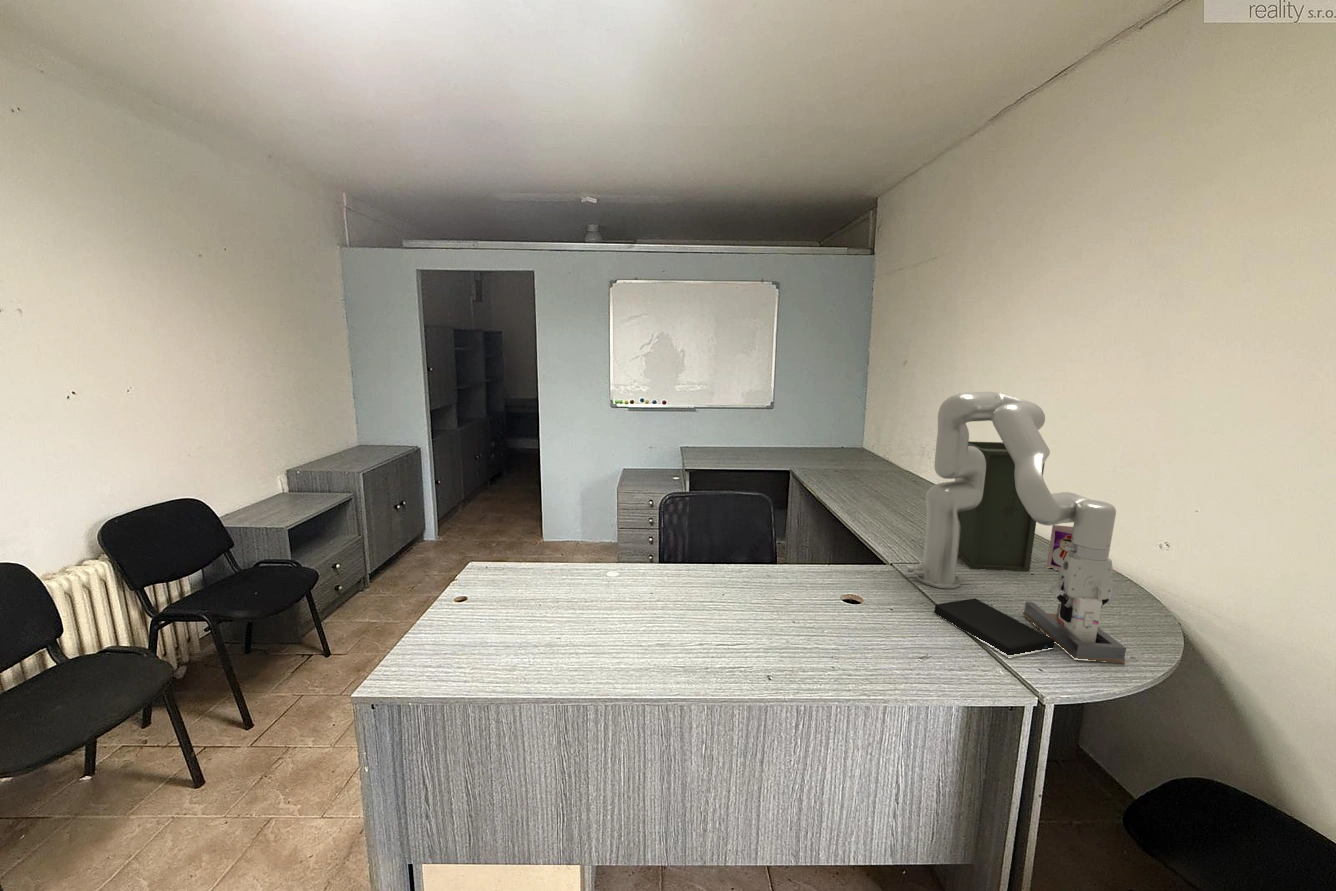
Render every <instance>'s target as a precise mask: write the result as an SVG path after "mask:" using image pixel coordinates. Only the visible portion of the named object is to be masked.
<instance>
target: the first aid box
mask: <svg viewBox="0 0 1336 891" xmlns="http://www.w3.org/2000/svg"><path fill="white" fill-rule="evenodd" d="M968 446H973V447H976V448H978V449H979V450H980V451H981V452H982V453H983V455H984V457H985V460H986V474H985V482H984V491H983V497H982V501H981V503H980V504H979V506H977V507H976V508H974V509H972V510H968V511H962V512H958V518H959V521H960V526H961V532H960V542H959V550H958V559H959V560H960V561H961V562H962V563H963V564H964V565H965V566H967V567H968V569H970V570H979V569H986V570H985V571H1000V570H1012V571H1011V572H1020V571H1029V572H1030V568H1031V563H1032V562H1031V561H1032V555H1033V548H1034V541H1035V534H1036V526H1037V522H1036V521H1035V520H1034V519H1032V517H1031V516H1030V515H1029V514H1028V512H1027V511H1026V509H1025V507H1024V505H1023V504H1022V502H1021V500H1020V498H1019V496H1018V494H1017V491H1016V487H1015V477H1014V471H1015V464H1014V461H1013V460H1012V458H1011V456H1010V454H1009V452H1008V450H1007V449H1006V447H1005V445H1004V443H1003V441H1002V442H998V441H971V440H969V442H968ZM1045 462H1046V461H1045ZM1045 462H1044V464H1043V468H1042V475H1043V476H1044V470H1045Z"/></svg>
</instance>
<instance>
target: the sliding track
mask: <svg viewBox="0 0 1336 891" xmlns="http://www.w3.org/2000/svg"><path fill="white" fill-rule="evenodd" d="M1060 605H1061V603H1058V606H1057V612H1056V613H1052V612H1051V613H1048V612H1046V611H1045V610H1044V609H1042V608H1041V607H1040V606H1039V605H1037V604H1036V603H1035V602H1034V601H1033V602H1032V601H1025V605H1024V611H1023V613H1022V616H1023V615H1024V616H1025V617H1026V618H1027V619H1026V618H1025V617H1024V616H1023V617H1024V618H1025V619H1026V620H1028V619H1029V620H1030V621H1031V622H1032V623H1034V624H1035V625H1036V626H1037V627H1038V628H1039V629H1041V630H1042V631H1043V632H1044V633H1045V634H1047V635H1048V636H1049V637H1050V638H1051V639H1053V640H1055V642H1056V643H1057V644H1059V645H1060V646H1061V647H1062V648H1064V649H1065V650H1066V651H1067V652H1068V653H1069V654H1070V655H1072V656H1073V657H1074V658H1078V659H1088V660H1096V661H1106V662H1115V663H1114V664H1120V663H1126V659H1125V657H1126V651H1127V647H1126V646H1125V645H1123V644H1122V643H1121V642H1119V641H1118V640H1116V639H1114V637H1112V636H1111V635H1109V634H1108V633H1106V632H1105V631H1104V630H1103V629H1102V628H1100V627H1098V629H1097V635H1096V641H1095V643H1085V642H1082V641H1081V640H1080V639H1078V638H1077V637H1076V636H1075V635H1073V634H1072V633H1071V632H1070V631H1068V630H1067V629H1066V628H1065V627H1063V626H1062V625H1061V624H1060V623H1058V617H1059V611H1060ZM1029 620H1028V621H1029ZM1030 621H1029V622H1030ZM1031 622H1030V623H1031ZM1032 623H1031V624H1032ZM1037 627H1036V628H1037ZM1038 628H1037V629H1038ZM1039 629H1038V630H1039ZM1045 634H1044V635H1045Z"/></svg>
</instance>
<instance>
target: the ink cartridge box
mask: <svg viewBox="0 0 1336 891" xmlns="http://www.w3.org/2000/svg"><path fill="white" fill-rule="evenodd" d="M1062 593H1063V591H1062V592H1061V594H1062ZM1067 598H1068V597H1067ZM1066 600H1067V599H1066ZM1101 605H1102V589H1101V588H1100V587H1098V599H1094V598H1074V600H1073V602H1072V604H1071V606H1070V607H1072V609H1073V610H1072V617H1071V622H1070V623H1069V622H1066V621H1065V620H1063V619H1062V618H1061V617H1060V611H1059V617H1058V623H1060V624H1061V625H1062V626H1063V627H1065V628H1066V629H1067V630H1068V631H1070V632H1071V633H1072V634H1073V635H1075V636H1076V637H1077V638H1078V639H1080V640H1081V641H1082V642H1085V643H1095V641H1096V635H1097V629H1098V628H1099V623H1100V617H1101V610H1102V609H1101ZM1060 607H1061V605H1060Z"/></svg>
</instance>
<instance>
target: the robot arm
mask: <svg viewBox="0 0 1336 891" xmlns="http://www.w3.org/2000/svg"><path fill="white" fill-rule="evenodd" d="M988 421H989V422H992V425H993V427H994V428H995V431H996V433H997V434H998V436H999V438H1000V440H1001V441H1002V442H1003V443H1004V445H1005V447H1006V449H1007V450H1008V452H1009V454H1010V456H1011V458H1012V460H1013V461H1014V464H1015V471H1014V477H1015V487H1016V491H1017V494H1018V496H1019V498H1020V500H1021V502H1022V504H1023V505H1024V507H1025V509H1026V511H1027V512H1028V514H1029V515H1030V516H1031V517H1032V519H1034V520H1035V521H1036V523H1038V524H1039V525H1043V526H1048V527H1049V526H1053V525H1060V524H1067V523H1068V524H1070V523H1073V526H1072V527H1073V532H1072V538H1071V542H1070V545H1069V546H1066V547H1065V550H1066V551H1069V553H1067V554H1066V556H1065V558H1064V561H1063V563H1062V566H1061V570H1060V571H1059V573H1058V574H1059V575H1058V579H1057V582H1056V583H1054V584H1053V585H1052V586H1051V587H1050V588H1049V589H1048V592H1050V594H1052V595H1053V596H1054V597H1055V599H1056V600H1058V602H1059V603H1060V604H1061V607H1060V617H1061V618H1062V619H1063V620H1065V621H1066V622H1069V623H1070V622H1071V617H1072V610H1073V609H1072V607H1070V606H1071V604H1072V602H1073V600H1074V598H1094V599H1098V587H1100V588H1101V589H1102V605H1101V610H1102V608H1103V607H1104V605H1105V604H1106V603H1108V602H1109V601H1110V600H1112V599H1114V598H1116V596H1117V593H1116V592H1115V591H1114V589H1113V580H1114V570H1113V561H1112V559H1111V558H1109V556H1110V550H1111V544H1112V539H1113V532H1114V527H1115V521H1116V515H1117V510H1116V507H1115V506H1114V505H1113V504H1111V503H1109V502H1105V501H1101V500H1096V499H1095V500H1094V499H1090V498H1087V497H1084V496H1082V495H1079V494H1077V493H1074V492H1069V491H1062V492H1056V493H1051V492H1050V490H1049V488H1048V486H1047V484H1046V482H1045V479H1044V474H1043V475H1042V468H1043V464H1044V462H1046V461H1047V458H1049V456H1050V454H1051V451H1050V447H1048V445H1047V443H1046V442H1045V440H1044V438H1043V436H1042V434H1041V433H1040V431H1039V430H1040V429H1042V428H1043V427H1044V425H1045V422H1046V414H1045V412H1044V411H1043V408H1042V407H1041V406H1039V405H1038V404H1036V403H1034V402H1032V401H1029V400H1025V399H1021V398H1018V397H1014V396H1010V395H1009V394H1006V393H1005V394H1004V393H1000V392H996V391H972V392H971V391H970V392H969V391H968V392H961V393H957V394H954V395H951V396H949V397H947V398H946V399H945V400H944V401H942V403H941V404H940V406H939V409H938V412H937V436H936V442H935V453H934V454H935V455H934V463H933V464H934V466H933V468H934V471H935V473H936V475H937V476H938V477H939V478H942V479H947V480H948V479H949V480H952V479H954V481H953V480H952V481H945V482H940V483H936V484H933V485H932V486H931V487H930V488H928V490H927V491H926V494H925V505H926V506H925V508H926V527H925V538H924V546H923V547H924V548H923V556H922V562H918V563H919V564H918V565H917V564H916V566H915V565H906V566H905V570H906V571H905V572H906V573H912V575H915V578H916V579H917V580H918V581H919V582H921V583H923V584H924V585H927V586H930V587H934V588H938V589H947V590H948V589H950V590H951V589H956V588H959V587H960V586H961V582H962V581H961V578H959V576H957V566H958V559H959V558H958V550H959V542H960V532H961V526H960V521H959V518H958V512H962V511H968V510H972V509H974V508H976V507H977V506H979V504H980V503H981V501H982V497H983V491H984V482H985V474H986V460H985V457H984V455H983V453H982V452H981V451H980V450H979V449H978V448H976V447H973V446H968V442H969V441H970V432H969V429H968V425H967V423H971V422H988ZM1044 465H1045V464H1044ZM1061 591H1062V592H1063V593H1062V592H1061ZM1060 592H1061V593H1060ZM1067 597H1068V598H1067ZM1066 599H1067V600H1066Z"/></svg>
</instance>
